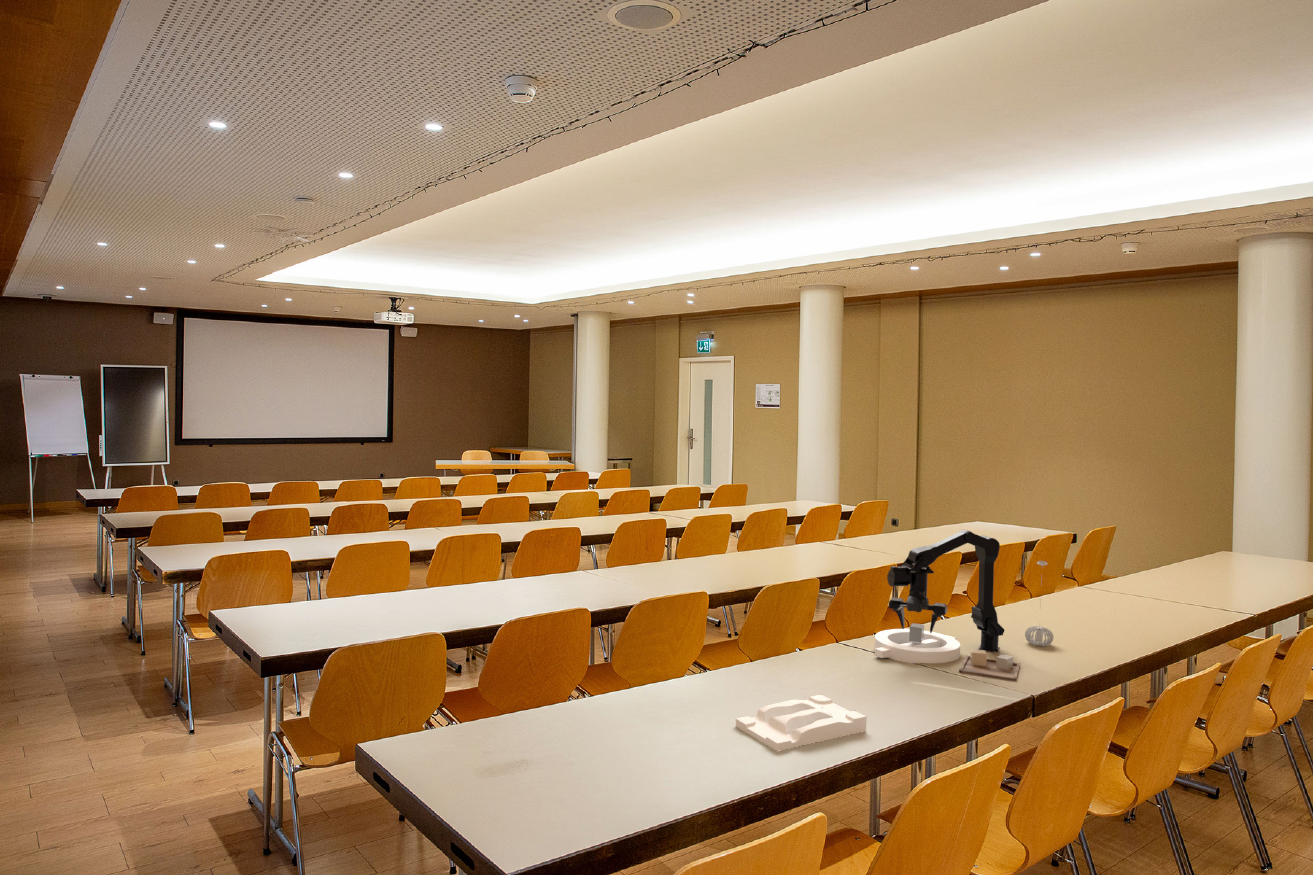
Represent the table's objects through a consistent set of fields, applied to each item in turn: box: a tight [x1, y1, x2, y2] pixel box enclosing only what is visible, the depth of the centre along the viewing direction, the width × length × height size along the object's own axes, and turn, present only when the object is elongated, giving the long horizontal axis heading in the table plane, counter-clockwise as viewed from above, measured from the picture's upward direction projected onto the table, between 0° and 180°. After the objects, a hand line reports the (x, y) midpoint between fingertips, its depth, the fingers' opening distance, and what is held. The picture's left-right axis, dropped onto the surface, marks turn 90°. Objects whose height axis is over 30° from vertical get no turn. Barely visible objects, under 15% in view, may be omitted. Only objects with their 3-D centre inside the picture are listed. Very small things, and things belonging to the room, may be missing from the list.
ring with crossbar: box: [874, 628, 961, 664], centre depth 288 cm, size 28×28×5 cm
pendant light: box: [1024, 560, 1054, 647], centre depth 300 cm, size 9×9×30 cm
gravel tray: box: [958, 655, 1021, 682], centre depth 269 cm, size 18×17×1 cm
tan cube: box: [969, 648, 988, 666], centre depth 274 cm, size 4×4×4 cm
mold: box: [735, 694, 867, 752], centre depth 217 cm, size 18×29×5 cm, turn 120°
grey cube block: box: [909, 622, 925, 643], centre depth 288 cm, size 5×4×5 cm
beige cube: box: [995, 653, 1014, 670], centre depth 271 cm, size 4×4×4 cm
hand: (916, 630), depth 288 cm, fingers open, 9 cm apart
